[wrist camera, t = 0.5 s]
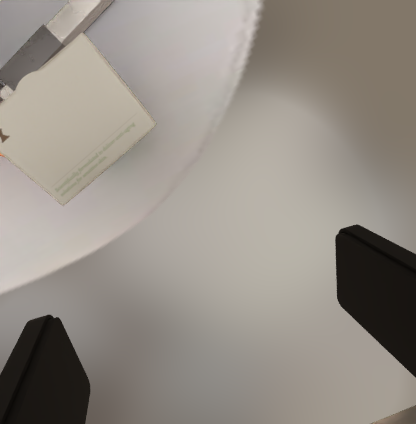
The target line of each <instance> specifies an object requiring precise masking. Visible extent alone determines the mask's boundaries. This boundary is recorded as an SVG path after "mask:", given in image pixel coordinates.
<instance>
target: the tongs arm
mask: <svg viewBox="0 0 416 424" xmlns="http://www.w3.org/2000/svg"><path fill="white" fill-rule="evenodd" d="M113 1H114V0H70V1H69V2H68V3H67V4H66V5H65V6H64V7H63V8H62V9H61V10H60V11H59V12H58V13H57V14H56V15H55V16H54V18H53V19H52V20H51V21H50V22H49V23H48V24H47V25H46V26H45V25H44V24H43V25H42V26H41V27H40V28H39V29H38V30H37V31H36V32H35V34H34V35H33V36H32V37H31V38H30V39H29V40H28V41H27V42H26V43H25V44H24V45H23V46H22V47H21V48H20V50H19V51H18V52H17V53H16V54H15V55H14V56H13V57H12V58H11V59H10V60H9V61H8V62H7V63H6V64H5V65H4V67H3V68H2V69H1V70H0V80H2V81H3V82H4V83H5V84H6V85H5V86H4V88H3V89H2V90H1V91H0V97H1V98H2V99H4V100H5V99H6V98H7V97H8V96H9V95H10V94H12V93H13V92H14V91H15V90H16V87H17V85H18V83H19V82H20V80H21V79H22V78H23V77H24V76H26V75H27V74H29V73H31V72H34V71H37V70H38V69H40V68H41V67H42V66H43V65H44V64H46V63H47V62H48V61H49V60H50V59H51V58H53V57H54V56H55V55H56V54H57V53H59V52H60V51H61V50H62V49H63V48H65V47H66V46H67V45H68V44H69V43H71V42H72V41H73V40H74V39H75V38H77V36H78V35H79V34H80V33H83V32H84V31H85V30H86V29H87V28H88V27H89V26H90V25H91V24H92V23H93V22H94V21H95V20H96V19H97V18H98V16H99V15H100V14H101V13H102V12H103V11H104V10H105V9H106V8H107V7H108V6H109V5H110V4H111V3H112V2H113Z"/></svg>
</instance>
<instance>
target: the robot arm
mask: <svg viewBox="0 0 416 424" xmlns="http://www.w3.org/2000/svg"><path fill="white" fill-rule="evenodd" d="M335 241H336V275H337V299H338V301H339V304H340V305H341V307H342V308H343V309H345V311H347V312H348V313H349V314H350V315H351V316H352V317H353V318H354V319H355V320H356V321H357V322H358V323H359V324H360V325H361V326H362V327H363V328H364V329H366V331H368V333H370V334H371V335H372V336H373V337H374V338H375V339H376V340H377V341H378V342H379V343H380V344H381V345H382V346H383V347H384V348H385V349H386V350H387V351H388V352H389V353H391V354H392V355H393V356H394V357H395V358H396V359H397V360H398V361H399V362H400V363H401V364H402V365H403V366H404V367H405V368H406V369H407V370H408V371H409V372H410V373H411V374H413V375H414V376H415V377H416V254H414V253H412V252H410V251H408V250H406V249H404V248H403V247H400V246H399V245H397V244H395V243H393V242H391V241H389V240H387V239H385V238H383V237H381V236H379V235H377V234H375V233H373V232H371V231H369V230H368V229H366V228H364V227H362V226H360V225H353V226H349V227H346V228H343V229H341V230H340V231H339V234H337V235H336V240H335ZM89 396H90V383H89V380H88V377H87V375H86V373H85V371H84V369H83V367H82V364H81V362H80V361H79V358H78V356H77V354H76V352H75V349H74V348H73V345H72V343H71V341H70V339H69V337H68V335H67V333H66V330H65V328H64V326H63V324H62V322H61V320H60V319H59V318H58V317H56V318H53V316H51V315H46V316H43V317H39V318H36V319H33V320H30V321H28V322H27V324H26V326H25V327H24V329H23V331H22V333H21V335H20V337H19V339H18V341H17V343H16V345H15V347H14V349H13V351H12V353H11V355H10V357H9V359H8V361H7V363H6V365H5V367H4V369H3V371H2V373H1V375H0V424H85V421H86V415H87V408H88V402H89ZM371 424H416V405H415V406H413V407H410V408H408V409H406V410H403V411H400V412H398V413H396V414H393V415H391V416H388V417H386V418H383V419H381V420H378V421H376V422H373V423H371Z"/></svg>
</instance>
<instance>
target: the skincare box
mask: <svg viewBox="0 0 416 424" xmlns="http://www.w3.org/2000/svg"><path fill="white" fill-rule="evenodd" d="M155 125H156V123H155V121H154V120H153V118H152V117H151V116H150V114H149V113H148V111H147V110H146V109H145V108H144V106H143V105H142V104H141V102H140V101H139V100H138V99H137V97H136V96H135V95H134V94H133V92H132V91H131V90H130V89H129V87H128V86H127V85H126V84H125V82H124V81H123V80H122V79H121V77H120V76H119V75H118V74H117V73H116V71H115V70H114V69H113V68H112V66H111V65H110V64H109V63H108V62H107V60H106V59H105V58H104V57H103V55H102V54H101V53H100V52H99V51H98V49H97V48H96V47H95V46H94V45H93V43H92V42H91V41H90V40H89V39H88V37H87V36H86V35H85V34H84V33H80V34H79V35H78V36H77V38H75V39H74V40H73V41H72V42H71V43H69V44H68V45H67V46H66V47H65V48H63V49H62V50H61V51H60V52H59V53H57V54H56V55H55V56H54V57H53V58H51V59H50V60H49V61H48V62H47V63H46V64H44V65H43V66H42V67H41V68H40V69H38V70H37V71H34V72H31V73H29V74H27V75H26V76H24V77H23V78H22V79H21V80H20V82H19V83H18V85H17V87H16V90H15V91H14V92H13V93H12V94H10V95H9V96H8V97H7V98H6V99H5V100H4V101H3V102H1V103H0V153H1V154H2V155H3V156H5V157H6V158H7V159H8V160H9V161H11V162H12V163H13V164H14V165H15V166H16V167H18V168H19V169H20V170H21V171H22V172H24V173H25V174H26V175H27V176H28V177H30V178H31V179H32V180H33V181H34V182H35V183H37V184H38V185H39V186H40V187H41V188H43V189H44V190H45V191H46V192H47V193H48V194H50V195H51V196H52V197H53V198H54V199H55V200H56V201H58V202H59V203H60V204H61V205H62V206H64V205H65V204H66V203H67V202H69V201H70V200H71V199H72V198H73V197H75V196H76V195H77V194H78V193H79V192H80V191H82V190H83V189H84V188H85V187H86V186H88V185H89V184H90V183H91V182H92V181H93V180H95V179H96V178H97V177H98V176H99V175H101V174H102V173H103V172H104V171H105V170H106V169H107V168H109V167H110V166H111V165H112V164H113V163H114V162H115V161H117V160H118V159H119V158H120V157H121V156H122V155H124V154H125V153H126V152H127V151H128V150H129V149H130V148H132V147H133V146H134V145H135V144H136V143H137V142H138V141H139V140H141V139H142V138H143V137H144V136H145V135H146V134H147V133H148V132H149V131H150V130H151V129H152V128H153V127H154V126H155Z"/></svg>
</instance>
